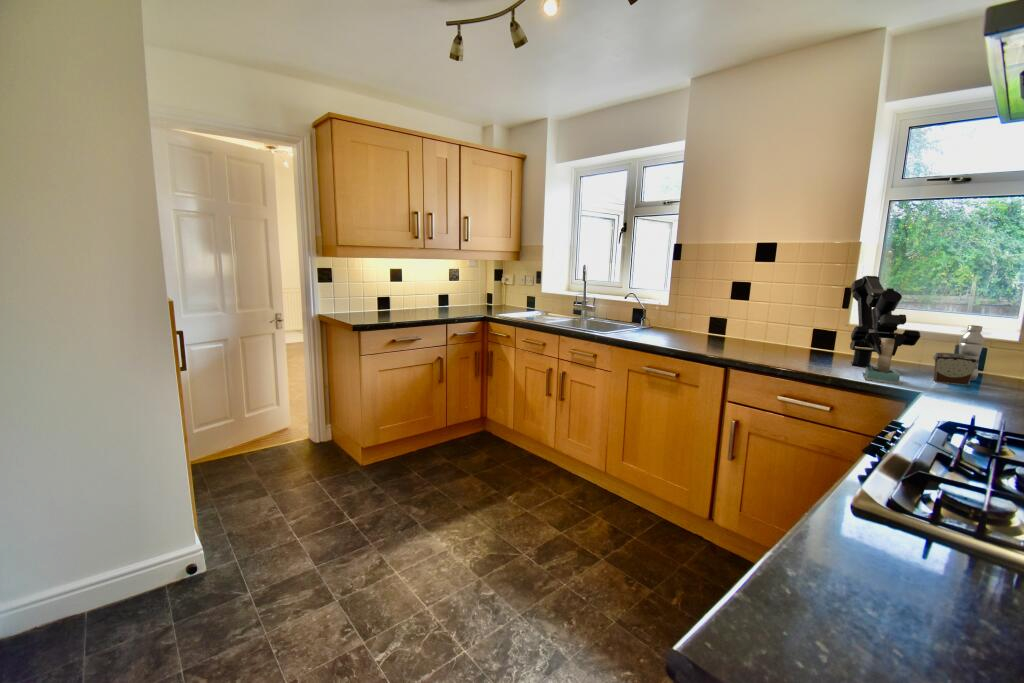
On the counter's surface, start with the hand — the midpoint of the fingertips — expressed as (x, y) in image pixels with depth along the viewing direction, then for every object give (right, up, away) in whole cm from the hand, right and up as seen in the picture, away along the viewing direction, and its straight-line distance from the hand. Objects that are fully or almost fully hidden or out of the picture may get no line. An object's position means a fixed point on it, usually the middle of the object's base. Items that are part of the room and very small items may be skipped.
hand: (886, 354), depth 161 cm
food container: (+25, -10, +4) cm, 27 cm away
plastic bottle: (+34, -10, +7) cm, 36 cm away
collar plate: (0, -9, +3) cm, 9 cm away
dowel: (0, -6, +2) cm, 7 cm away
